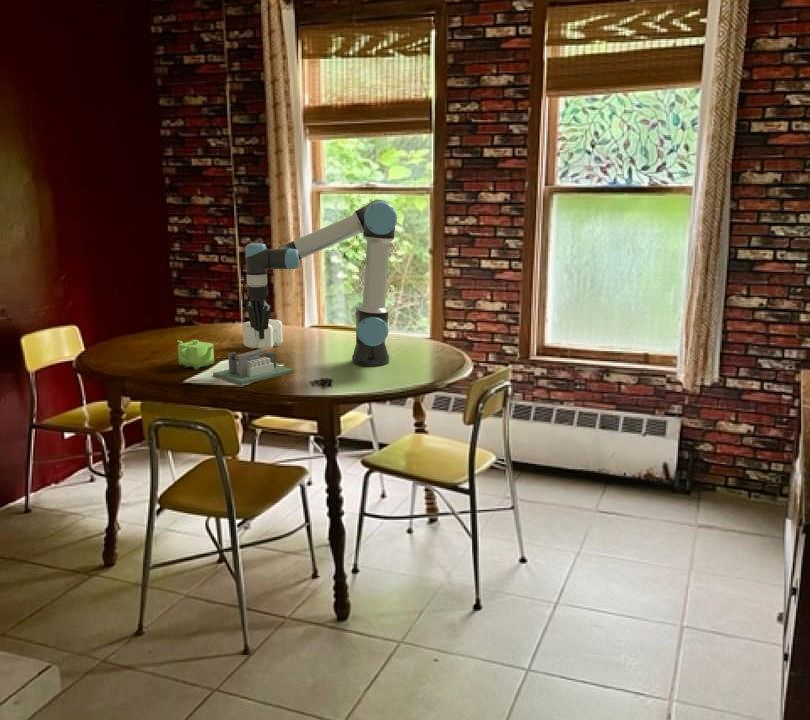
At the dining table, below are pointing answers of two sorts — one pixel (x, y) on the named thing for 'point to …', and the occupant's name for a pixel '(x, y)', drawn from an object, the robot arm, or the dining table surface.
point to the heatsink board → (253, 378)
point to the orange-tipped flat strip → (254, 353)
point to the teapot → (195, 354)
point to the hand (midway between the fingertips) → (260, 346)
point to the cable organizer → (270, 335)
